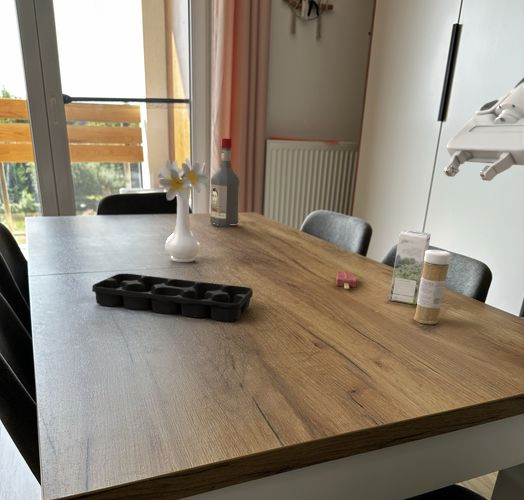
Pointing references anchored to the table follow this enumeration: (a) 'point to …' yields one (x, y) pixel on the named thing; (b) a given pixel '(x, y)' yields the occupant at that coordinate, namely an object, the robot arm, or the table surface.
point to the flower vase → (183, 206)
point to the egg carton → (174, 296)
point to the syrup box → (409, 266)
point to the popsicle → (345, 279)
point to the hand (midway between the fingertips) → (465, 175)
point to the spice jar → (432, 286)
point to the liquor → (225, 190)
